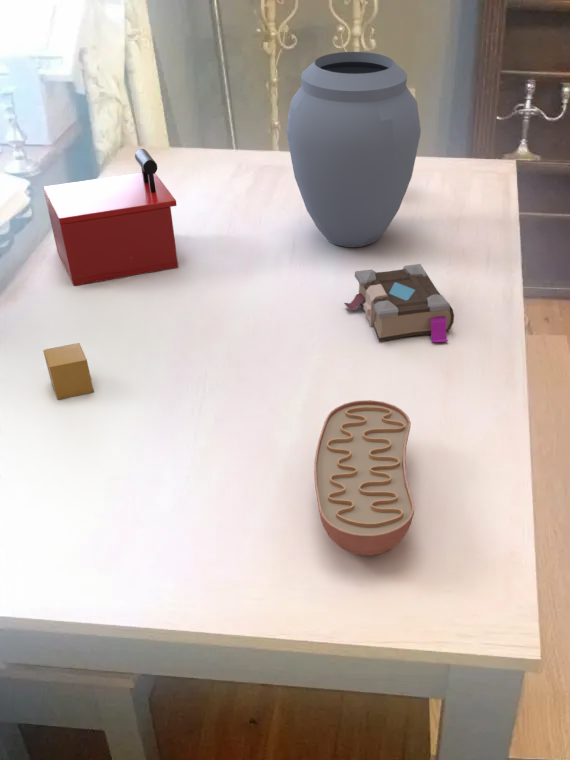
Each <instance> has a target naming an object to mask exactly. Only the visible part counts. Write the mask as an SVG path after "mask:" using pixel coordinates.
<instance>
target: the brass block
mask: <svg viewBox="0 0 570 760" xmlns="http://www.w3.org/2000/svg"><path fill="white" fill-rule="evenodd" d="M42 352H43V356H44V361H45V364H46V368H47V371H48V375H49V379H50V383H51V386H52V388H53V391H54V394H55V397H56V399H57V400H62V399H68V398H72V397H77V396H80V395H86V394H90V393H91V394H92V393H94V392H95V391H94V385H93V382H92V377H91V373H90V368H89V364H88V359H87V357H86V354H85V352H84V350H83V347H82V345H81V343H80V342H77V343H71V344H66V345H61V346H55V347H51V348H46V349H42Z"/></svg>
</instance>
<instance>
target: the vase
mask: <svg viewBox="0 0 570 760" xmlns="http://www.w3.org/2000/svg"><path fill="white" fill-rule="evenodd" d="M300 79H301V86H300V87H299V89H297V91H296V93H294V95H293V97H292V98H291V101H290V105H289V111H288V117H287V123H286V130H285V131H286V132H285V133H286V136H287V143H288V149H289V153H290V159H291V165H292V170H293V175H294V179H295V182H296V184H297V187H298V190H299V193H300V195H301V198H302V201H303V204H304V206H305V209H306V211H307V213H308V215H309V216H310V218H311V219H312V222H313V223H314V224H315V226H316V228H317V229H318V232H320V233H321V234H322V235H323V237H324V238H325V239H326V240H327V241H328V242H329V243H332V244H334V245H336V246H337V245H338V246H339V247H345V248H361V247H365V246H369V245H371V244H373V243H376V242H377V241H378V240H379V239H380V238H381V237H382V235H384V234H385V232H386V231H387V230H388V228H389V226H390V225H391V223H392V222H393V220H394V219H395V217H396V216H397V214H398V212H399V210H400V208H401V205H402V203H403V200H404V199H405V198H404V197H405V195H406V192H407V190H408V188H409V185H410V183H411V180H412V178H413V174H414V168H415V163H416V158H417V153H418V149H419V143H420V138H421V134H422V133H421V130H422V128H421V121H420V115H419V106H418V101H417V99H416V98H415V96H414V95H413V93H412V92H411V90H410V89H409V88H408V86H407V80H408V73H407V72H406V71H405V70H404V69H403V68H401V67H400V66H399V65H398V64H397V63H396V62H395V61H394V60H393V59H392V58H390V57H389V56H386V55H383V54H379V53H374V52H366V51H342V52H334V53H329V54H328V53H327V54H325V55H322V56H320V57H318V58H316V59H315V60H314V61H313V62H312V63H311V64H310V65H308V66H307V67H306V68H305V69H304V70H303V71H302V72H301V74H300Z"/></svg>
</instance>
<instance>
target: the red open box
mask: <svg viewBox="0 0 570 760" xmlns="http://www.w3.org/2000/svg"><path fill="white" fill-rule="evenodd" d="M43 194H44V198H45V203H46V206H47V212H48V216H49V220H50V224H51V229H52V234H53V238H54V243H55V247H56V251H57V254H58V255H59V258H60V260H61V262H62V265H63V266H64V268H65V270H66V272H67V276H68V277H69V279H70V281H71V284H72V285H73V286H74V287H75V286H80V285H86V284H91V283H97V282H102V281H103V282H104V281H109V280H114V279H119V278H125V277H131V276H138V275H142V274H148V273H149V274H150V273H154V272H160V271H164V270H172V269H176V268H177V269H178V268H179V263H178V262H179V261H178V254H177V247H176V246H177V245H176V238H175V231H174V224H173V216H172V207H166V208H160V209H153V210H147V211H141V212H134V213H128V214H121V215H115V216H109V217H102V218H96V219H90V220H83V221H77V222H71V223H64V224H60V223H59V221H58V219H57V217H56V215H55V213H54V211H53V209H52V207H51V205H50V203H49V201H48V199H47V197H46V195H45V193H44V192H43Z"/></svg>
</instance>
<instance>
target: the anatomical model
mask: <svg viewBox="0 0 570 760" xmlns="http://www.w3.org/2000/svg"><path fill="white" fill-rule="evenodd" d="M411 423H412V422H411V420H410V417H409V416H408V414H407V413H406V412H405V411H404V410H403V409H401V408H400V407H398V406H396V405H394V404H391V403H388V402H385V401H380V400H373V399H372V400H371V399H367V400H366V399H365V400H353V401H349V402H345V403H342V404H341V405H339V406H337V407H334V409H332V410H331V411H330V412H329V413H328V414H327V416H326V419H325V420H324V422H323V426H322V428H321V432H320V434H319V437H318V441H317V446H316V450H315V457H314V467H313V468H314V469H313V472H314V473H313V476H314V488H315V495H316V500H317V507H318V512H319V517H320V522H321V524H322V527H323V528H324V530H325V532H326V535H327V536H328V538H330V540H331V541H332V542H333V543H334V544H335V545H337V546H338V547H339V548H341V549H342V550H344V551H346V552H348V553H350V554H353V555H359V556H375V555H378V554H382V553H385V552H387V551H389V550H391V549H393V548H394V547H395V546H397V545H398V544H400V542H401V541H402V540H403V539H404V538H405V536H406V535H407V533H408V531H409V530H410V527H411V525H412V523H413V519H414V515H415V505H414V501H413V500H414V499H413V497H412V496H413V495H412V494H411V490H410V486H409V483H408V477H407V471H406V470H407V469H406V452H407V446H408V445H407V444H408V439H409V435H410V431H411Z"/></svg>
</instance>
